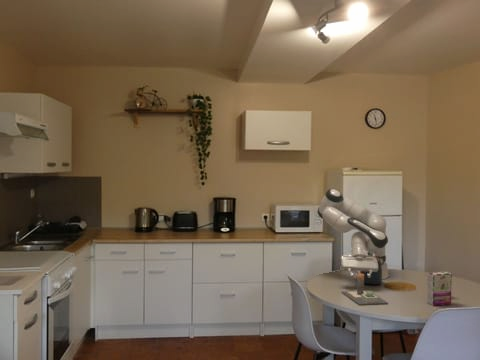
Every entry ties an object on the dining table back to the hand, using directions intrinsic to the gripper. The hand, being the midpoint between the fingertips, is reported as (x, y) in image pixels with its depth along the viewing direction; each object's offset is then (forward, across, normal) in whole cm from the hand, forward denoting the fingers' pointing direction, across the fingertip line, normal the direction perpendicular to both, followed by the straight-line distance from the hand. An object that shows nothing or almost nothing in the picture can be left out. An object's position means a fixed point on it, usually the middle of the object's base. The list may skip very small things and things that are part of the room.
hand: (360, 276), depth 245 cm
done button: (+17, +3, -9) cm, 20 cm away
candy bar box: (+15, +39, -3) cm, 42 cm away
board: (+15, +1, -3) cm, 15 cm away
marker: (+11, 0, 0) cm, 11 cm away
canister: (-8, +8, +19) cm, 22 cm away
